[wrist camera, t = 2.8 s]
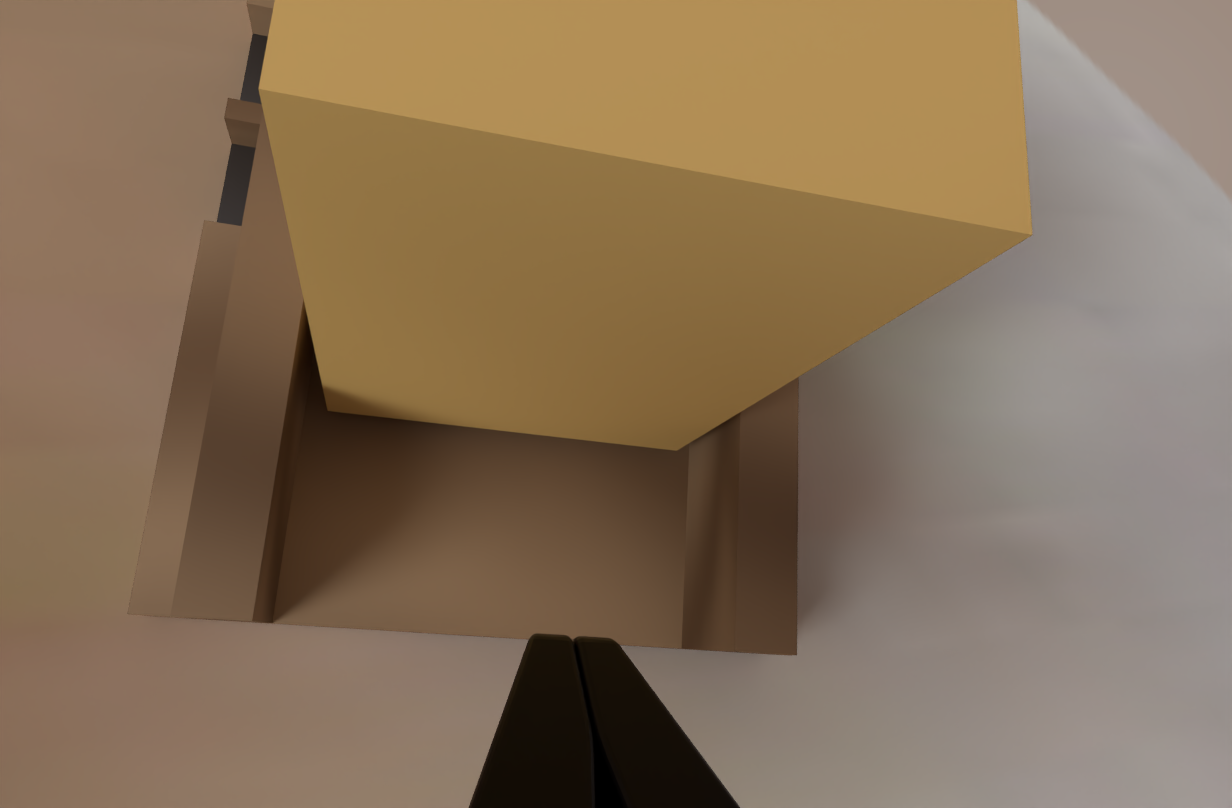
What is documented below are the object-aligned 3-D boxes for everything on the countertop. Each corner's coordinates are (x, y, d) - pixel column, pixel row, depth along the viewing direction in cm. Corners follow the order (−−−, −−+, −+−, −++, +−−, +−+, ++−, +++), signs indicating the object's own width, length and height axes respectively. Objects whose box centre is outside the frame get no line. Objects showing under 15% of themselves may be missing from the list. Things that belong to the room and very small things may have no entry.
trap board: (764, 654, 17) (862, 658, 14) (145, 615, 15) (76, 610, 11) (775, -75, 22) (852, -208, 18) (300, -198, 19) (283, -381, 16)
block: (677, 450, 16) (1032, 235, 7) (327, 411, 15) (258, 89, 6) (683, 293, 17) (1012, -69, 8) (352, 242, 16) (321, -259, 7)
